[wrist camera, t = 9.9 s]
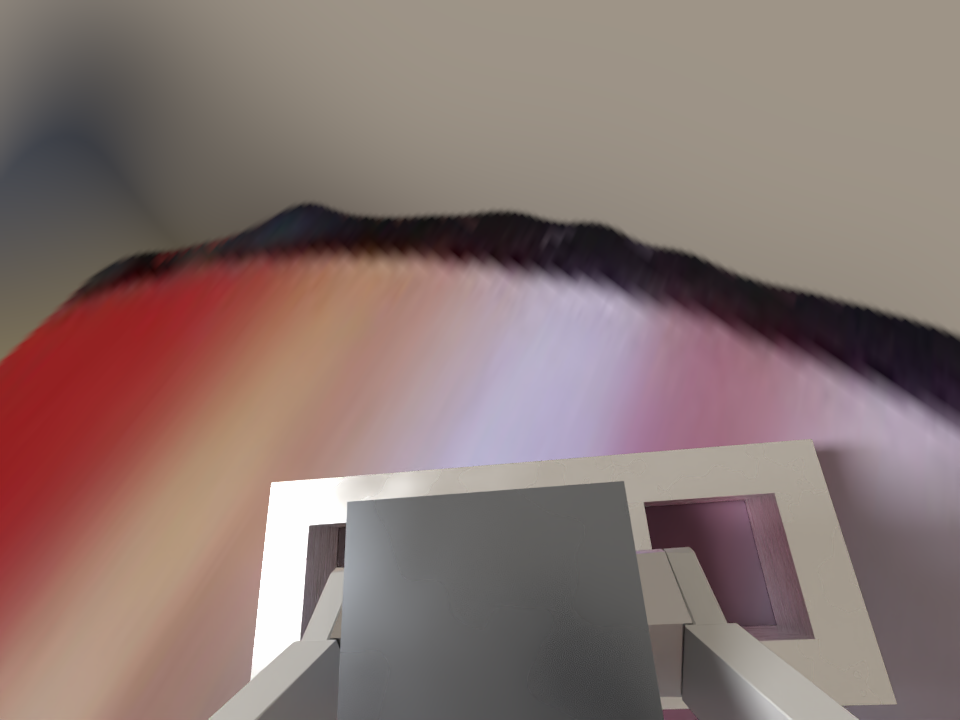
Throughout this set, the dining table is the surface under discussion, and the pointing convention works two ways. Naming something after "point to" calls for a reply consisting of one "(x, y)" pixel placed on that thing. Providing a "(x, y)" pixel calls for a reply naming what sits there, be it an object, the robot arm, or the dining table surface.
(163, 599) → the dining table surface
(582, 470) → the rail
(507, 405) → the dining table surface
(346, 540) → the peg
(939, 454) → the dining table surface
